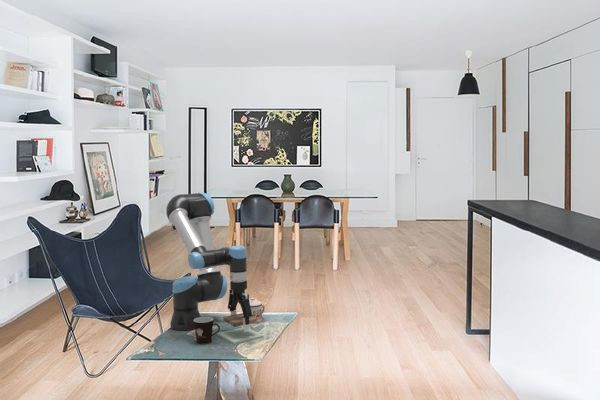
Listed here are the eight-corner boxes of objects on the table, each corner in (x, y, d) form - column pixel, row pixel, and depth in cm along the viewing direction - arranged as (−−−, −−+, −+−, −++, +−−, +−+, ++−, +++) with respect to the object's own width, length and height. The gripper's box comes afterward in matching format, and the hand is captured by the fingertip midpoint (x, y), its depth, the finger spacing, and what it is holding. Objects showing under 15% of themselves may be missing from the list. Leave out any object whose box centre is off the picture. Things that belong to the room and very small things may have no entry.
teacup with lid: (252, 325, 282) (251, 301, 281) (240, 321, 289) (239, 298, 288) (270, 319, 291) (270, 296, 290) (258, 316, 297) (258, 293, 296)
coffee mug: (190, 341, 260) (189, 319, 259) (207, 337, 266) (206, 315, 265) (205, 348, 251) (204, 325, 250) (221, 343, 257) (221, 320, 256)
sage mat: (217, 335, 268) (217, 333, 268) (246, 328, 277) (245, 326, 276) (234, 344, 255) (234, 342, 255) (263, 337, 263) (263, 335, 263)
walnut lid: (223, 320, 266) (223, 317, 266) (244, 316, 273) (244, 312, 273) (234, 326, 258) (234, 323, 257) (256, 322, 264) (256, 318, 264)
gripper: (219, 277, 271) (220, 323, 273) (244, 286, 252) (245, 336, 254) (233, 275, 275) (235, 320, 277) (259, 283, 256) (260, 332, 258)
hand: (240, 328), depth 265 cm, fingers closed on walnut lid, 11 cm apart
